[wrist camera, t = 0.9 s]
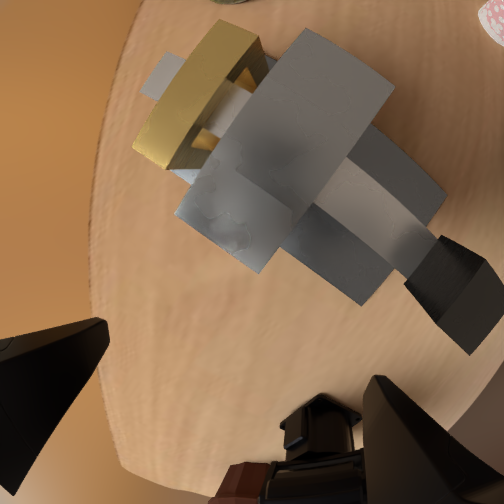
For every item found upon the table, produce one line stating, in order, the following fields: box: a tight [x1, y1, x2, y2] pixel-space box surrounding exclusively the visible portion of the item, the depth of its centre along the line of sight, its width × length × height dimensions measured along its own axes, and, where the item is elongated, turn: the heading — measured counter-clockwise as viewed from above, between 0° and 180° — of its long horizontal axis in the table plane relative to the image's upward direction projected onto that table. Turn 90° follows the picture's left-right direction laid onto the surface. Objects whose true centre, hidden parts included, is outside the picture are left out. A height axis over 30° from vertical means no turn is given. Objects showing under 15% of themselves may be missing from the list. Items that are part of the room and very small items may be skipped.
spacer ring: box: [132, 19, 270, 170], centre depth 13 cm, size 2×7×7 cm, turn 146°
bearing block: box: [171, 28, 447, 307], centre depth 14 cm, size 18×11×10 cm, turn 56°
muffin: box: [208, 462, 270, 504], centre depth 26 cm, size 12×11×10 cm
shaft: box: [140, 52, 504, 356], centre depth 10 cm, size 18×3×6 cm, turn 56°
